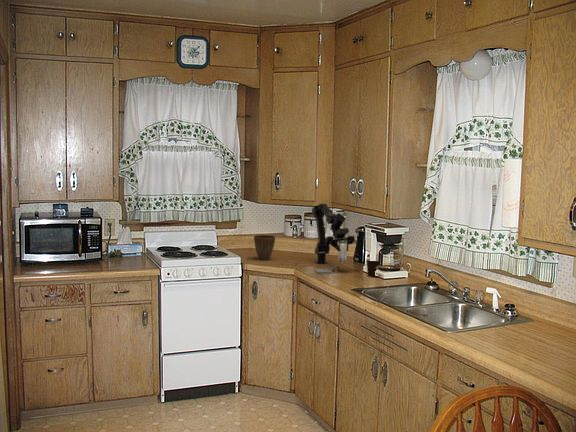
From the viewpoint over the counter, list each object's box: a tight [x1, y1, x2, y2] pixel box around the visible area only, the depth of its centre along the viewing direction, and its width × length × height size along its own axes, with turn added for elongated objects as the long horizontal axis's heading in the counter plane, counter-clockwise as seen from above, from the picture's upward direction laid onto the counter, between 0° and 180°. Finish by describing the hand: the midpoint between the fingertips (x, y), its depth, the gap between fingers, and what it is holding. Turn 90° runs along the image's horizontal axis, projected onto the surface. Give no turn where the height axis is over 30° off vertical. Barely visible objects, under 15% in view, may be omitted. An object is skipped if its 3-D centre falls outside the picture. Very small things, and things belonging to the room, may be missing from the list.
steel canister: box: [337, 240, 348, 263], centre depth 373 cm, size 5×5×13 cm
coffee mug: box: [366, 258, 381, 278], centre depth 363 cm, size 12×9×10 cm
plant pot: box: [253, 234, 276, 261], centre depth 412 cm, size 15×15×16 cm
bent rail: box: [332, 264, 341, 274], centre depth 376 cm, size 12×4×3 cm, turn 7°
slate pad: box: [314, 268, 333, 275], centre depth 372 cm, size 9×9×1 cm
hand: (343, 251), depth 371 cm, fingers closed on steel canister, 5 cm apart
